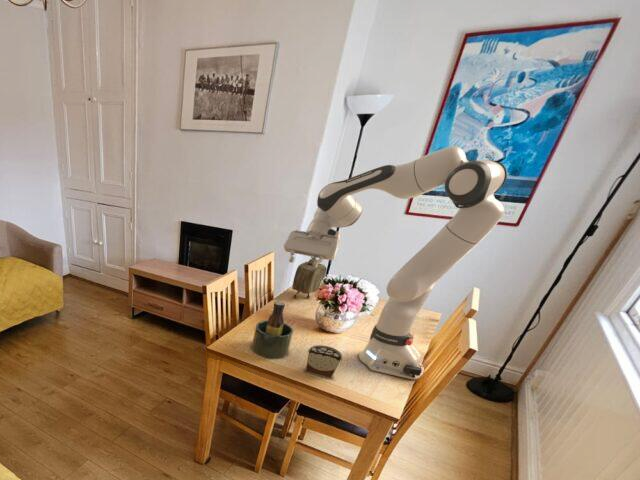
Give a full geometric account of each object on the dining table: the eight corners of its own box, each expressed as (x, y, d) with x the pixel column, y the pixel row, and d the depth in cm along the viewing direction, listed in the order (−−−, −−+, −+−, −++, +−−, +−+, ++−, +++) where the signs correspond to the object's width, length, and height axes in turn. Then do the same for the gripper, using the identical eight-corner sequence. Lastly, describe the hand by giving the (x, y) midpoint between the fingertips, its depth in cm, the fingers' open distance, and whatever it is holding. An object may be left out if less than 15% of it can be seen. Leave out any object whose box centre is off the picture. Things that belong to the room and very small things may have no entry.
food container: (337, 372, 152) (345, 349, 147) (335, 379, 148) (343, 357, 142) (304, 363, 158) (310, 341, 152) (301, 370, 153) (307, 348, 147)
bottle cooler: (292, 348, 168) (298, 327, 162) (279, 362, 158) (285, 340, 153) (260, 337, 175) (264, 317, 169) (245, 350, 166) (250, 329, 160)
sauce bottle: (279, 351, 164) (290, 307, 152) (264, 351, 164) (274, 307, 152) (275, 343, 169) (285, 300, 157) (260, 343, 169) (270, 300, 157)
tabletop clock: (305, 291, 218) (317, 245, 203) (319, 296, 212) (333, 249, 198) (289, 297, 211) (300, 250, 197) (303, 303, 205) (317, 255, 191)
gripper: (291, 225, 161) (276, 254, 161) (343, 233, 151) (328, 265, 150) (292, 234, 167) (278, 262, 166) (343, 242, 156) (328, 273, 156)
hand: (302, 264), depth 158 cm, fingers open, 8 cm apart
